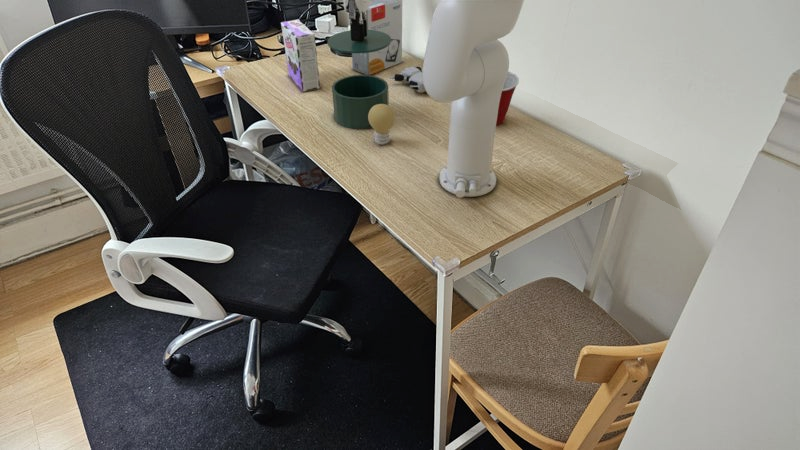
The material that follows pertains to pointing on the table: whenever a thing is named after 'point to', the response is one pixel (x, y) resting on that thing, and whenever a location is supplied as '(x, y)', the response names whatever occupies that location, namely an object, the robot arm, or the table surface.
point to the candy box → (301, 54)
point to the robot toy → (411, 78)
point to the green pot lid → (359, 42)
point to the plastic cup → (506, 96)
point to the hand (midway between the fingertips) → (359, 37)
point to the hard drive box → (388, 20)
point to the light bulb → (381, 122)
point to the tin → (358, 99)
